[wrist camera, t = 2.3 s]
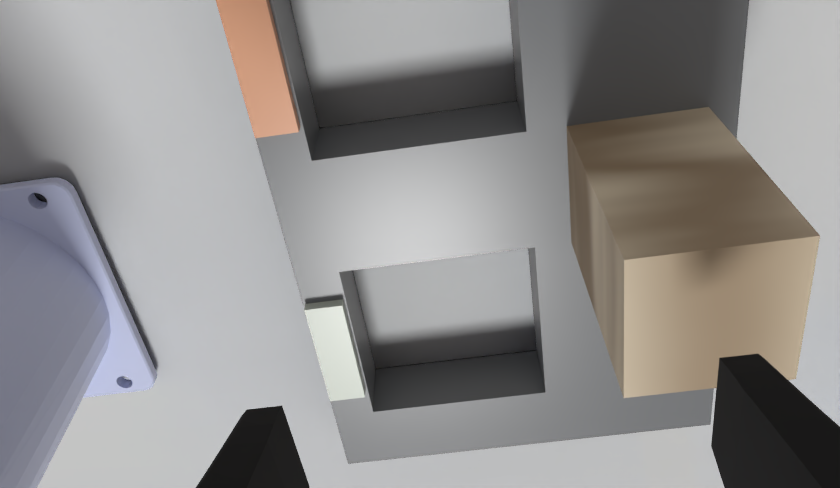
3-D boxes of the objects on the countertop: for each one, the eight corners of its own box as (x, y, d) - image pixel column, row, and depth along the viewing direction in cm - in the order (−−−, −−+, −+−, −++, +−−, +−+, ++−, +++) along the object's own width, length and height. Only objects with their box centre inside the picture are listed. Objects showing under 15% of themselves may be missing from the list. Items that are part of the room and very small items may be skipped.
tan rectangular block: (571, 242, 21) (623, 397, 16) (566, 126, 19) (624, 259, 14) (700, 226, 21) (795, 379, 15) (708, 106, 19) (820, 235, 14)
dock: (352, 420, 27) (347, 470, 25) (176, -232, 16) (146, -232, 14) (691, 381, 26) (713, 431, 24) (739, -331, 16) (787, -342, 14)
